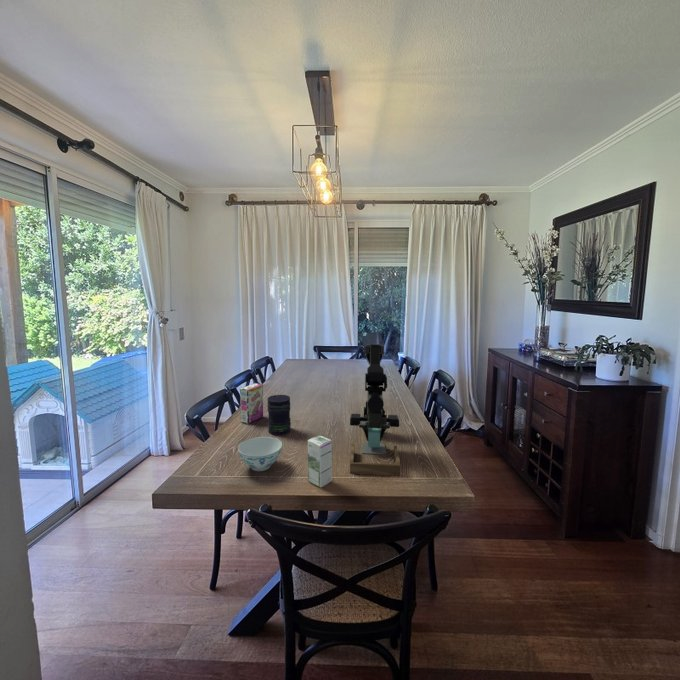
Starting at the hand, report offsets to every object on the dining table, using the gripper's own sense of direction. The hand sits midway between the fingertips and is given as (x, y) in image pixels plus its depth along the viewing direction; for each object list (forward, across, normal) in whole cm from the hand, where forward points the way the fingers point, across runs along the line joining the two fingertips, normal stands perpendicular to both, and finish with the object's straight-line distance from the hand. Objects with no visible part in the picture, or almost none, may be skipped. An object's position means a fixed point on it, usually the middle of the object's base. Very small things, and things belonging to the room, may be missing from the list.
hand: (373, 441), depth 138 cm
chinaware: (+3, -40, -17) cm, 44 cm away
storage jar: (+4, -41, +14) cm, 43 cm away
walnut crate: (+3, 0, -11) cm, 12 cm away
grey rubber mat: (+3, 0, 0) cm, 3 cm away
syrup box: (+3, -18, -25) cm, 31 cm away
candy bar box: (+4, -57, +26) cm, 63 cm away
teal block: (+2, 0, 0) cm, 2 cm away
